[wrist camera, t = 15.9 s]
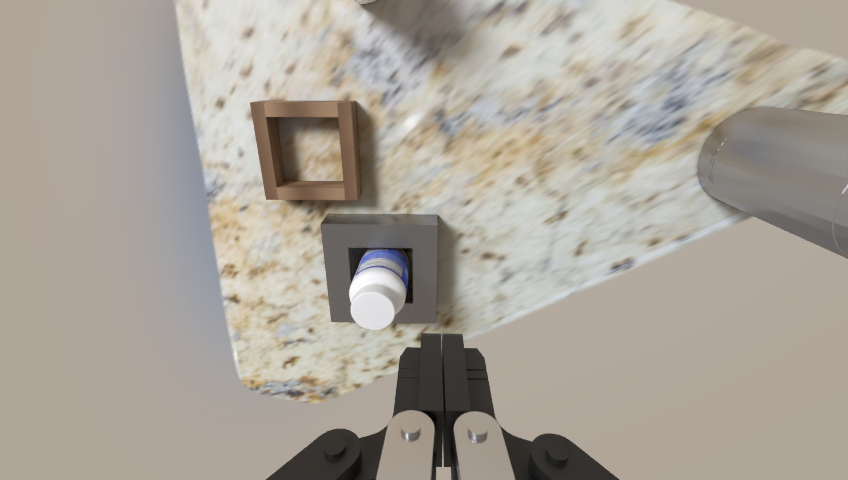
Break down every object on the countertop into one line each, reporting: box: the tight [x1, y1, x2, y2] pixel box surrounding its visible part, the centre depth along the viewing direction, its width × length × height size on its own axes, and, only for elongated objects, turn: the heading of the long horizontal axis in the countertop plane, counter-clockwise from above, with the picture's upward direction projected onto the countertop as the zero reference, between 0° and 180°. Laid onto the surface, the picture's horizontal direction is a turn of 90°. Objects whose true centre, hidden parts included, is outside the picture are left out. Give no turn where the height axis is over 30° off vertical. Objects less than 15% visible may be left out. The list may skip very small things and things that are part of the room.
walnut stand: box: [250, 101, 362, 200], centre depth 37 cm, size 9×9×2 cm
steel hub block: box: [321, 214, 438, 323], centre depth 42 cm, size 12×12×3 cm
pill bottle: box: [349, 248, 410, 330], centre depth 39 cm, size 5×5×10 cm
